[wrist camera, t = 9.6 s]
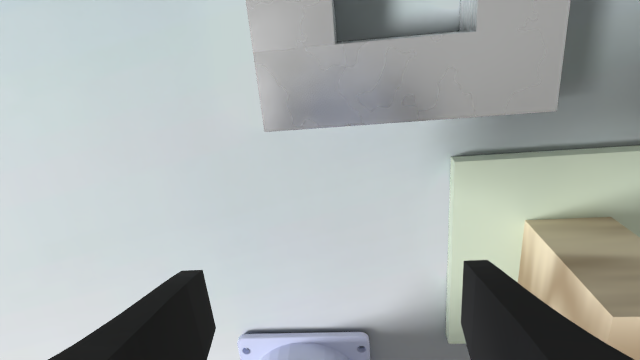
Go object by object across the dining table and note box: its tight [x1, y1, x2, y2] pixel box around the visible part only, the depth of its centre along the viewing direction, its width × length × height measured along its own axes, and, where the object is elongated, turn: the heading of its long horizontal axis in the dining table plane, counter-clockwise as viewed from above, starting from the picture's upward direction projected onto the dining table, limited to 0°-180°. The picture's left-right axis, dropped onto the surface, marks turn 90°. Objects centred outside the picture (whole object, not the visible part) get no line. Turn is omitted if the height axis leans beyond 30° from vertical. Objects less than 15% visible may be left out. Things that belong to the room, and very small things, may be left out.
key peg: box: [518, 217, 640, 360], centre depth 17 cm, size 4×4×7 cm
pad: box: [445, 145, 640, 344], centre depth 20 cm, size 11×11×1 cm
